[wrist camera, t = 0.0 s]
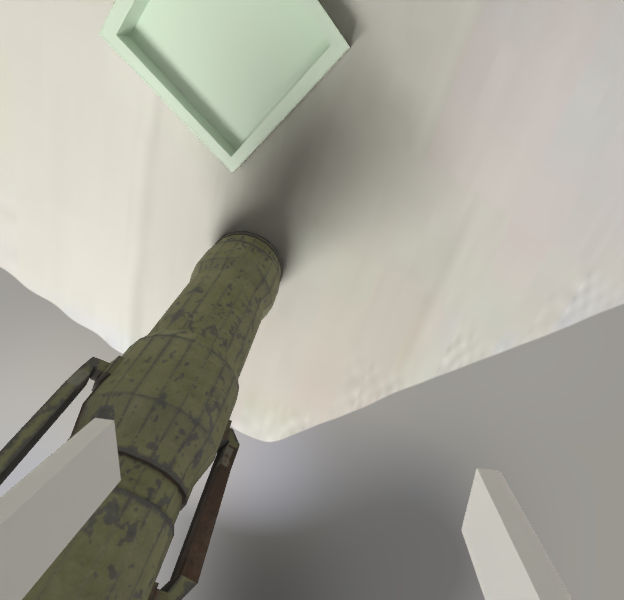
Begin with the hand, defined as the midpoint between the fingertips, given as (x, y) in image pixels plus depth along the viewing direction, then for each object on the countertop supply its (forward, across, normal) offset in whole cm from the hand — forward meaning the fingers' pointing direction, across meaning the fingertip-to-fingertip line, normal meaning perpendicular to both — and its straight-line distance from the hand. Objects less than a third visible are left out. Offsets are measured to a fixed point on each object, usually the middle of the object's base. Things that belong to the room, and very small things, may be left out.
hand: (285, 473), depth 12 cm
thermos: (+29, -10, +2) cm, 31 cm away
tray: (+22, -10, +22) cm, 32 cm away
